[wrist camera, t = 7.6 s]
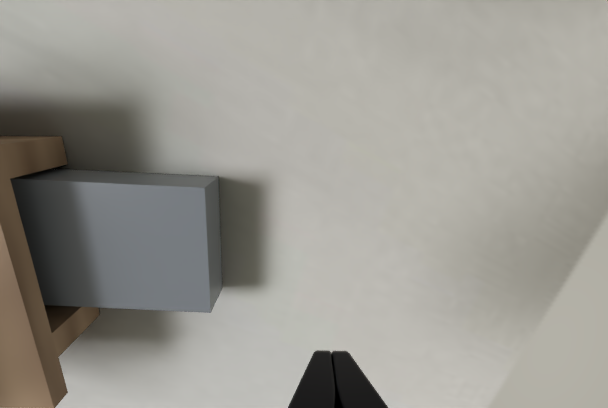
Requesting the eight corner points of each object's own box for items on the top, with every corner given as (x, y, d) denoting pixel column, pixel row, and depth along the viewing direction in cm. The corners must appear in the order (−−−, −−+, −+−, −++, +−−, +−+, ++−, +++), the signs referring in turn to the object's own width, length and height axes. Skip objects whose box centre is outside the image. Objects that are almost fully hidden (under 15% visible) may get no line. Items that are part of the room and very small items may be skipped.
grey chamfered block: (218, 176, 18) (204, 187, 16) (222, 287, 20) (210, 312, 18) (-72, 163, 18) (-130, 172, 16) (-38, 275, 20) (-84, 299, 18)
